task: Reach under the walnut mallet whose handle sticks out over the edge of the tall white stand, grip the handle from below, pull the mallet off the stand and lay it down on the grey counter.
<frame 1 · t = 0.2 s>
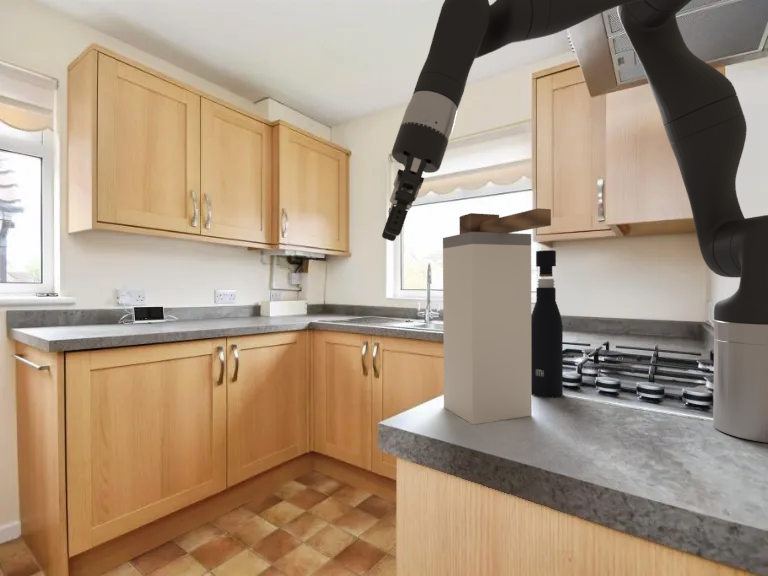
hand: (389, 236, 60), 31 cm above the countertop, tool tilted 20°, fingers open, 8 cm apart
stand: (486, 411, 74), on the countertop
black bottle: (546, 394, 85), on the countertop
mallet: (506, 232, 68), point 32 cm above the countertop, touching stand
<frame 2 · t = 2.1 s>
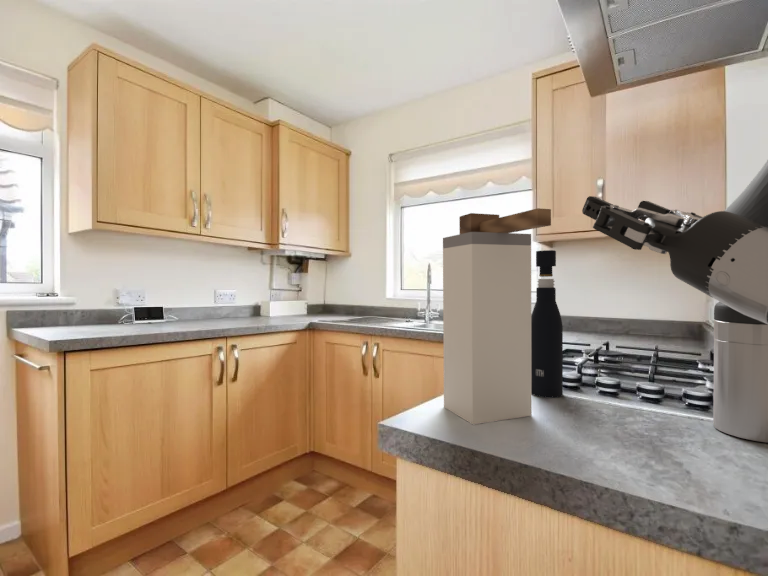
hand: (613, 206, 50), 33 cm above the countertop, tool pointing upward, fingers open, 8 cm apart
nothing on the countertop moved.
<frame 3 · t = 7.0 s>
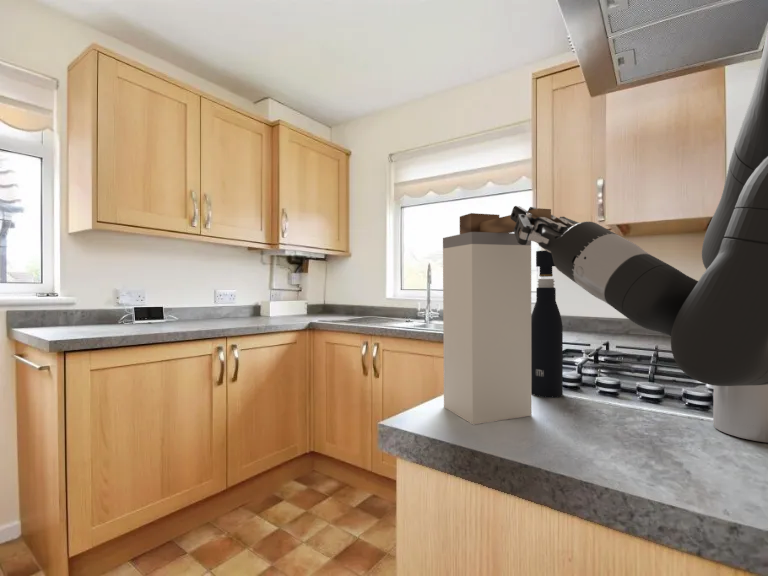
hand: (521, 212, 64), 35 cm above the countertop, tool pointing upward, fingers closed on mallet, 2 cm apart
mallet: (506, 232, 68), point 32 cm above the countertop, touching gripper, stand
everything else where it was.
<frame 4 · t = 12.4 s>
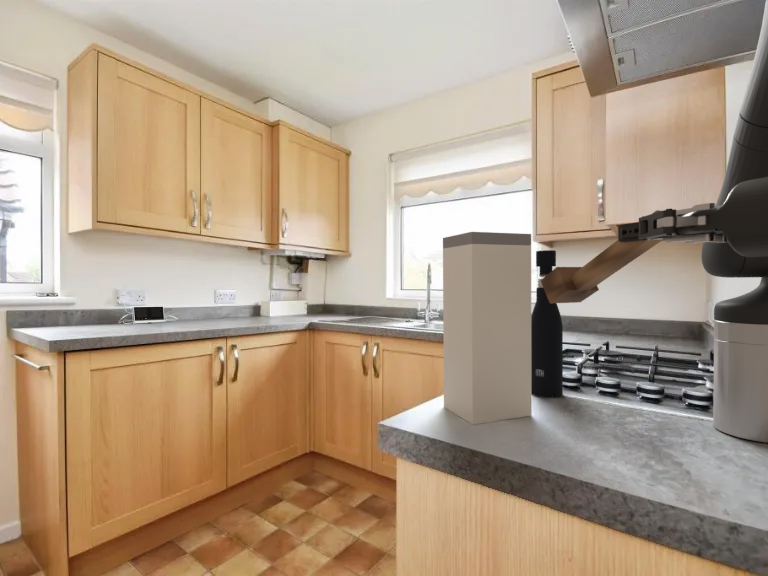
hand: (629, 234, 52), 30 cm above the countertop, tool horizontal, fingers closed on mallet, 2 cm apart
mallet: (614, 268, 54), point 25 cm above the countertop, tilted 30°, touching gripper
everything else where it was.
when the fingers open (10 cm above the countertop, at t = 16.5 s): mallet drops 5 cm, on the countertop.
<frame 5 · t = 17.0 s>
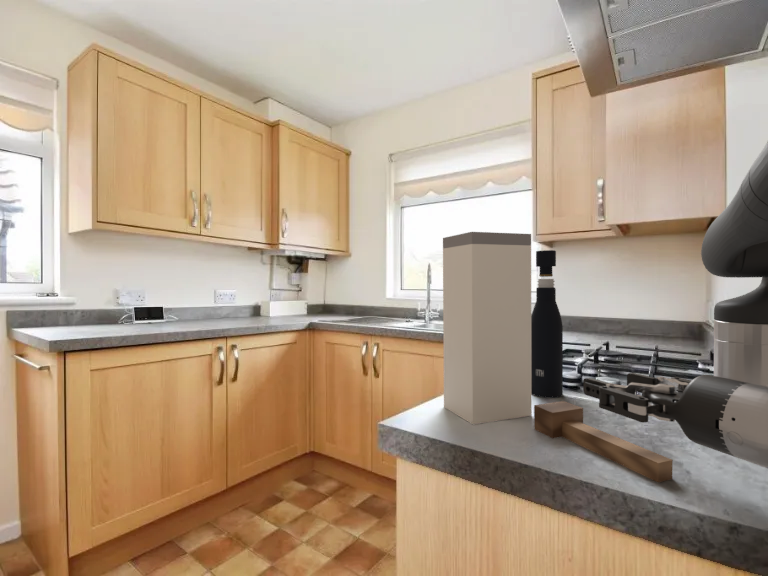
hand: (607, 382, 55), 10 cm above the countertop, tool horizontal, fingers open, 7 cm apart
mallet: (601, 451, 57), on the countertop
everything else where it was.
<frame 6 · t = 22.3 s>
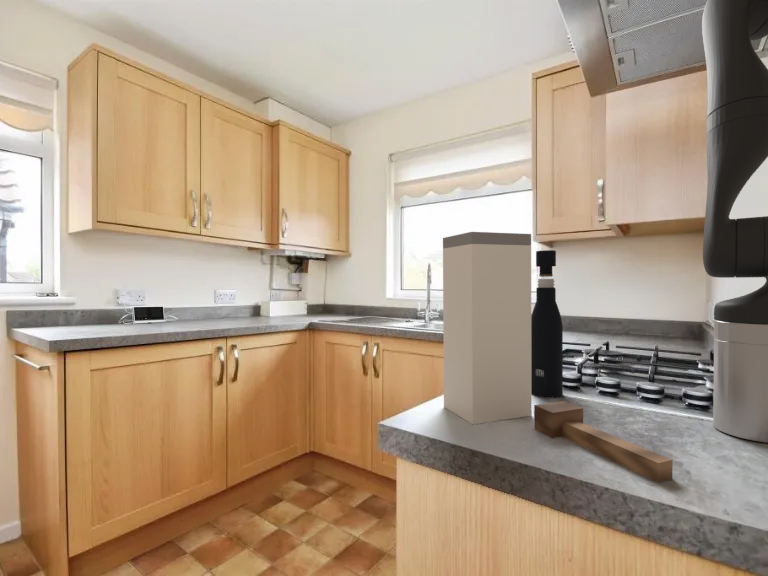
nothing on the countertop moved.
at the end: mallet inside the target area (2.9 cm from its centre), on the countertop; mallet touching countertop; the gripper is holding nothing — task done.
